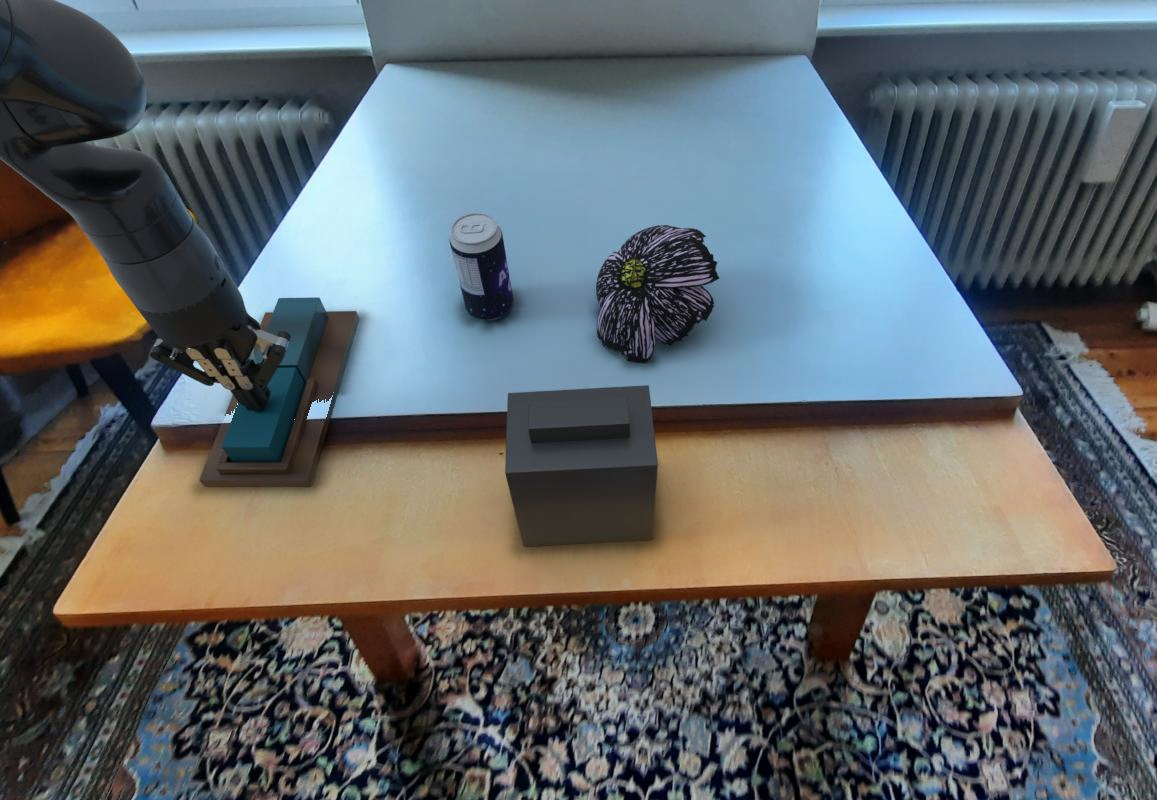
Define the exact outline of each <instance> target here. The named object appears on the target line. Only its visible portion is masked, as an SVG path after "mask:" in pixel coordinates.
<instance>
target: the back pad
mask: <svg viewBox="0 0 1157 800" xmlns="http://www.w3.org/2000/svg"><path fill="white" fill-rule="evenodd" d="M267 386H268V388H269V390H270V391H271V394H270V397H269V400H268V403H267V406H265V408H264V410H253V411H248V410H247V409H246V408H245V406H242V405H241V404H240V403H239V402H238V405H237V408H236V410H235V413H234V415H233V418H232V421H231V423H230V426H229V428H228V431H227V434H226V436H225V439H224V442H223V444H222V449H223V450H224V451H225V453H226V454H227V455H228V456H229V458H230V459H231V460H232V461H233V463H240V462H281V461H282V458H283V454H284V451H285V448H286V445H287V442H288V439H289V436H290V433H291V430H292V426H293V423H294V419H295V417H296V414H297V411H298V408H299V405H300V402H301V398H302V395H303V392H304V389H305V386H306V385H305V383H304V381H303V379H302V378H301V376H300V374H299V372H298V370H297V369H296V368H277V370H276V372H275V373H274V375H273V377H272V378H271V380H270V382H269V383H268V385H267Z"/></svg>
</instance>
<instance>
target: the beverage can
mask: <svg viewBox="0 0 1157 800" xmlns="http://www.w3.org/2000/svg"><path fill="white" fill-rule="evenodd" d="M448 239H449V240H448V242H449V246H450V249H451V250H450V251H451V253H452V257H453V262H454V266H455V271H456V275H457V278H458V282H459V287H460V291H461V293H462V294H461V295H462V299H463V304H464V307H465V311H466V312H467V313H468V314H469V315H470V316H471V317H473V318H475V319H477V320H482V321H494V320H498V319H500V318H502V317H503V316H504V315H506V314H508V312H509V311H510V310H511V309H512V307H513V304H514V295H513V289H512V284H511V283H512V282H511V277H510V271H509V265H508V257H507V252H506V247H505V240H504V235H503V230H502V229H501V227H500V226H499V225H498V222H497V220H496V219H495V217H493V216H491V215H490V214H487V213H483V212H471V213H466V214H464V215H462V216H460V217H458V218H457V219H456V220H454V222H453V223H452V225H451V228H450V235H449V238H448Z"/></svg>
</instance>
